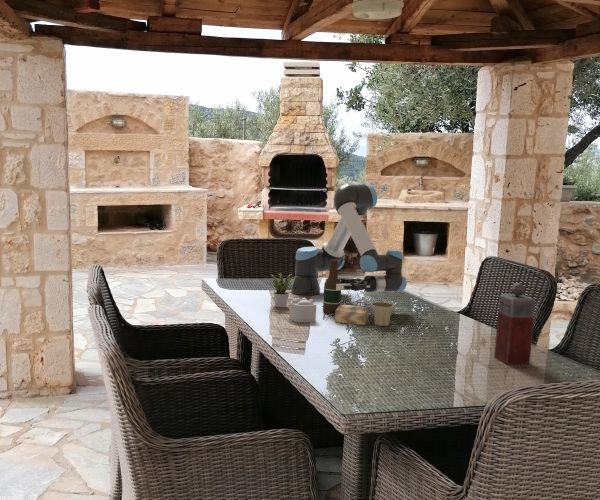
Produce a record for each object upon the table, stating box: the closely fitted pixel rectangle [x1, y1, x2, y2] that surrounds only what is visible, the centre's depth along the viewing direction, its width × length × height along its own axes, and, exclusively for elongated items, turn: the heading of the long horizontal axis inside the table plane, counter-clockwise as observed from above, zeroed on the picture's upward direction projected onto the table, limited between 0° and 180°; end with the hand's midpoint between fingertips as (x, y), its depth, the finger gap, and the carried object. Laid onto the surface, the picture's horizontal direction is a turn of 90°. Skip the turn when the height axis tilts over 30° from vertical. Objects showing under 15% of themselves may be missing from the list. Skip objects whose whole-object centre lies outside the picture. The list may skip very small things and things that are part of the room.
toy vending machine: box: [493, 282, 536, 366], centre depth 236 cm, size 9×11×28 cm
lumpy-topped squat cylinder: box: [289, 297, 317, 323], centre depth 286 cm, size 10×13×9 cm
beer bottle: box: [322, 259, 342, 315], centre depth 301 cm, size 8×8×24 cm
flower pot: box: [371, 301, 395, 327], centre depth 282 cm, size 9×9×9 cm
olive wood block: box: [334, 303, 370, 326], centre depth 288 cm, size 13×13×5 cm
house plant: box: [269, 272, 298, 308], centre depth 309 cm, size 14×14×16 cm
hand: (330, 284), depth 300 cm, fingers open, 13 cm apart
